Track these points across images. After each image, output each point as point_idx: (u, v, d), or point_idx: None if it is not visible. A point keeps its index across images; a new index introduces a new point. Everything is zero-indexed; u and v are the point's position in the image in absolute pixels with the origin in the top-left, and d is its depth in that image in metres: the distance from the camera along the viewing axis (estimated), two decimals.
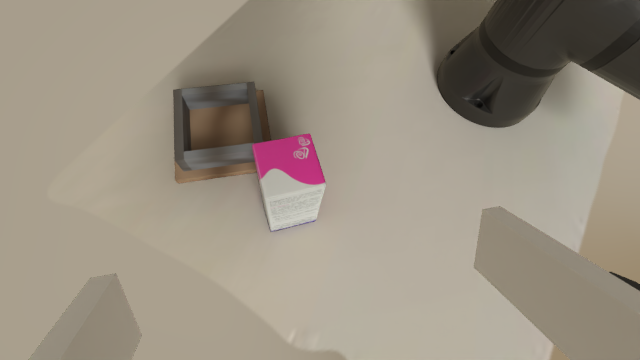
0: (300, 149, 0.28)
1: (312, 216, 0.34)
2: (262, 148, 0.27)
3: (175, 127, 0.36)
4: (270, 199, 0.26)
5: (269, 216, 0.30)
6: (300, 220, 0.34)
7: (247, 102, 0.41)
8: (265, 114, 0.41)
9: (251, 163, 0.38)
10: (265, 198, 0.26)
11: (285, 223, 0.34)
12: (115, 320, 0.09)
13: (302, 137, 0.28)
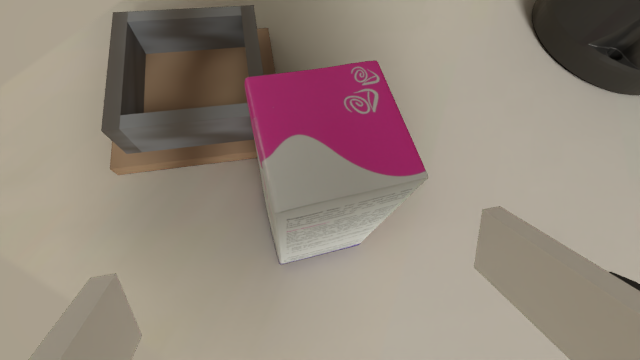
0: (358, 92, 0.12)
1: (359, 239, 0.18)
2: (269, 87, 0.11)
3: (108, 73, 0.20)
4: (290, 213, 0.10)
5: (281, 245, 0.14)
6: (336, 246, 0.18)
7: (242, 45, 0.25)
8: (271, 64, 0.25)
9: (247, 143, 0.22)
10: (276, 210, 0.10)
11: (309, 252, 0.18)
12: (115, 320, 0.09)
13: (361, 67, 0.12)
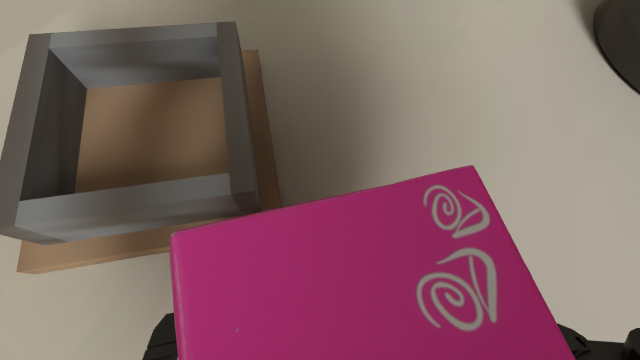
0: (447, 262, 0.05)
1: None
2: (229, 263, 0.05)
3: (9, 130, 0.13)
4: None
5: None
6: None
7: None
8: (262, 101, 0.18)
9: None
10: None
11: None
12: None
13: (443, 186, 0.05)
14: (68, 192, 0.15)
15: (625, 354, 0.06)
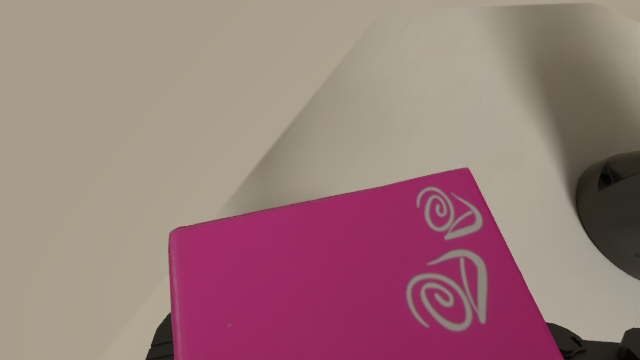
0: (438, 263, 0.05)
1: None
2: (224, 260, 0.05)
3: None
4: None
5: None
6: None
7: None
8: None
9: None
10: None
11: None
12: None
13: (437, 188, 0.05)
14: None
15: (621, 354, 0.06)
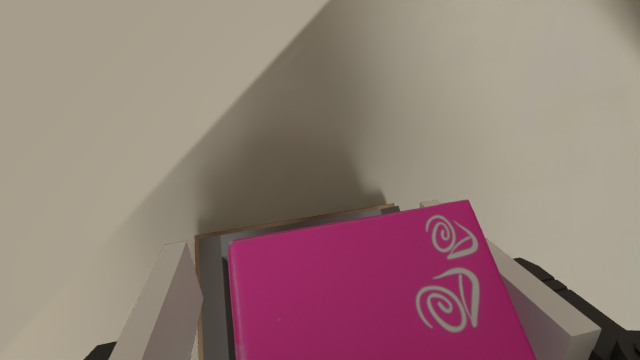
0: (441, 278, 0.06)
1: None
2: (273, 268, 0.06)
3: None
4: None
5: None
6: None
7: None
8: None
9: None
10: None
11: None
12: (188, 280, 0.11)
13: (442, 216, 0.07)
14: None
15: None
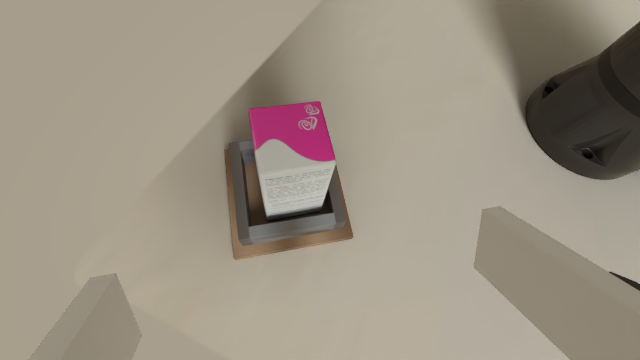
0: (306, 118, 0.23)
1: (316, 205, 0.29)
2: (260, 114, 0.22)
3: (235, 194, 0.29)
4: (266, 176, 0.21)
5: (265, 200, 0.25)
6: (302, 209, 0.29)
7: None
8: (335, 168, 0.34)
9: (325, 234, 0.31)
10: (259, 173, 0.20)
11: (284, 211, 0.29)
12: (115, 320, 0.09)
13: (310, 105, 0.23)
14: (250, 220, 0.30)
15: None
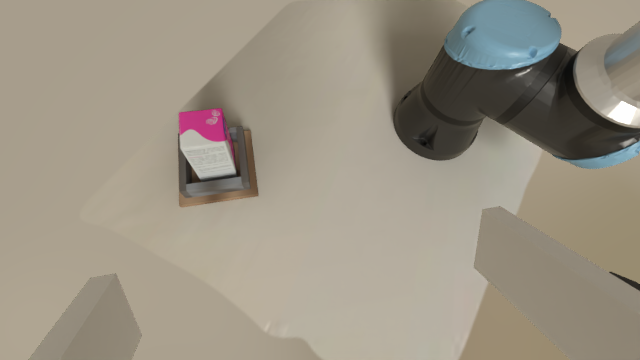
0: (211, 118, 0.40)
1: (231, 172, 0.47)
2: (185, 115, 0.40)
3: (179, 164, 0.46)
4: (184, 149, 0.38)
5: (192, 166, 0.42)
6: (222, 175, 0.47)
7: (237, 141, 0.52)
8: (251, 150, 0.51)
9: (239, 191, 0.48)
10: (180, 147, 0.38)
11: (210, 176, 0.46)
12: (115, 320, 0.09)
13: (215, 110, 0.41)
14: (191, 182, 0.48)
15: None
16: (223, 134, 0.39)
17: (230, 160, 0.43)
